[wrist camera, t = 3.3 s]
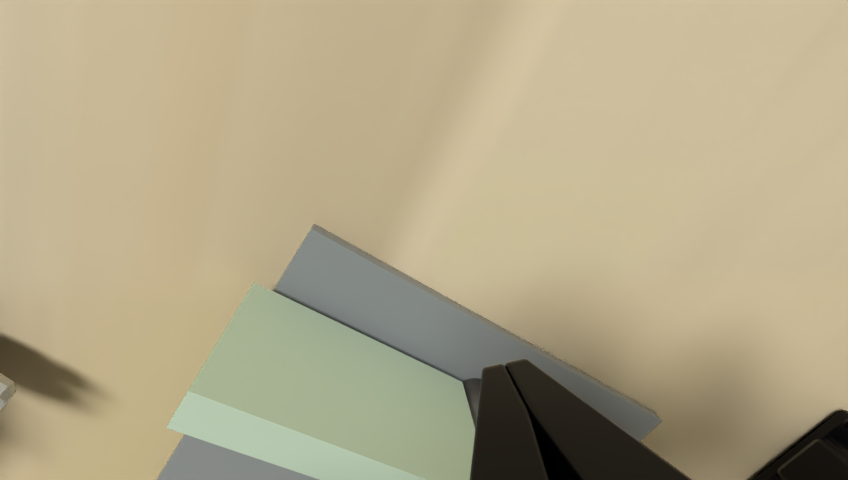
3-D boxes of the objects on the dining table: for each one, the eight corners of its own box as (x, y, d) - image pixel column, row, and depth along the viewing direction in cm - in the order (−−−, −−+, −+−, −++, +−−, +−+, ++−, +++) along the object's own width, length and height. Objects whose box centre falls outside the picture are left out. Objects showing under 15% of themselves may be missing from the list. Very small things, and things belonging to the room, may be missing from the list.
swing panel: (462, 381, 15) (496, 505, 11) (444, 402, 16) (470, 530, 11) (253, 282, 13) (187, 390, 8) (237, 309, 13) (166, 427, 9)
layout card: (655, 412, 19) (663, 422, 18) (479, 575, 22) (481, 588, 22) (314, 223, 13) (311, 230, 13) (156, 480, 17) (148, 494, 16)
